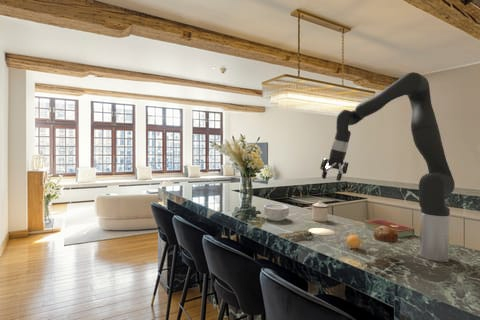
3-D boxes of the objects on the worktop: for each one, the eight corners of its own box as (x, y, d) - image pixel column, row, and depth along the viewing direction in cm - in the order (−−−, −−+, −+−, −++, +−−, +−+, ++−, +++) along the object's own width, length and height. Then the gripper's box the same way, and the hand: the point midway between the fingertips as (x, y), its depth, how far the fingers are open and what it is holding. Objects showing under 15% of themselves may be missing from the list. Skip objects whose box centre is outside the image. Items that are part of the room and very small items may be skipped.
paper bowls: (290, 222, 164) (290, 208, 163) (264, 221, 164) (264, 208, 163) (286, 216, 179) (286, 204, 179) (262, 216, 179) (262, 203, 179)
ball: (361, 247, 121) (362, 235, 121) (359, 251, 116) (359, 238, 116) (348, 245, 124) (348, 232, 124) (345, 248, 119) (345, 235, 119)
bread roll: (380, 242, 141) (373, 226, 143) (401, 237, 135) (394, 221, 137) (375, 247, 133) (368, 230, 135) (397, 242, 127) (389, 225, 129)
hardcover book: (379, 226, 160) (379, 218, 160) (414, 236, 141) (414, 228, 141) (363, 228, 156) (363, 220, 156) (397, 239, 136) (397, 230, 136)
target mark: (338, 231, 146) (338, 230, 146) (330, 237, 136) (330, 236, 136) (313, 227, 154) (313, 226, 154) (304, 232, 143) (304, 232, 143)
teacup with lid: (330, 221, 168) (331, 201, 168) (318, 222, 164) (319, 202, 164) (317, 216, 179) (318, 198, 179) (305, 218, 175) (306, 199, 175)
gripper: (330, 148, 139) (322, 180, 142) (355, 153, 143) (346, 183, 146) (323, 146, 146) (315, 175, 149) (346, 150, 150) (338, 179, 153)
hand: (330, 179), depth 148 cm, fingers open, 8 cm apart
